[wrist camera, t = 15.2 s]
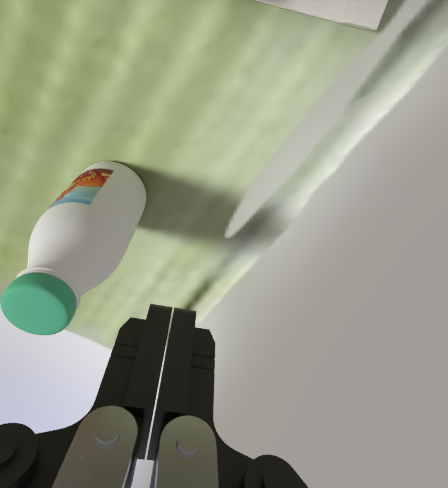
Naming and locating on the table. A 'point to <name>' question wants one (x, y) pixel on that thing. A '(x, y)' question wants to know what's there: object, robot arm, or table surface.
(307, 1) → the white trough
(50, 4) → the table surface
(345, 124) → the table surface
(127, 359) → the robot arm
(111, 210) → the milk bottle
